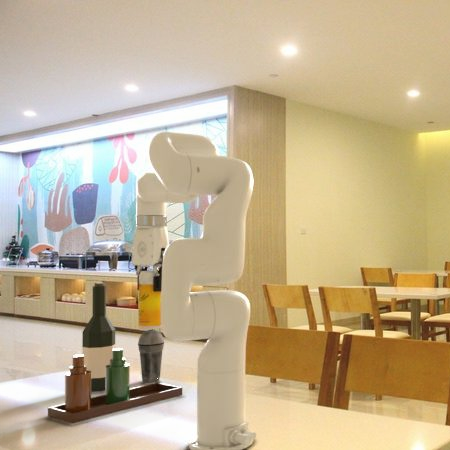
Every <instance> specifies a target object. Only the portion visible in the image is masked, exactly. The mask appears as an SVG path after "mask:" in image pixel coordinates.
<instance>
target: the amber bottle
mask: <svg viewBox="0 0 450 450" xmlns="http://www.w3.org/2000/svg"><path fill="white" fill-rule="evenodd" d="M91 398H92V392H91V371H89V370H87V365H84V355H82V354H75V355H73V356H72V365H71V366H69V371H68V372H66V373H64V404H65V411H67V412H71V413H76V412H80V411H84V410H89V409H91Z"/></svg>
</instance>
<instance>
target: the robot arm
mask: <svg viewBox="0 0 450 450" xmlns="http://www.w3.org/2000/svg"><path fill="white" fill-rule="evenodd" d="M219 153H220V152H219V147H218V146H217V144H216V143H215V141H213V140H212V139H210V138H209V137H206V136H204V135H199V134H191V133H181V132H171V131H162V132H159V133H156V134H155V136H153V137H152V139H151V140H150V143H149V146H148V149H147V158H148V162H149V165H150V167H151V169H152V171H153V172H145V173H143V174H142V175H141V176H139V177H137V179H136V184H135V185H136V186H135V187H136V188H135V190H136V193H135V194H136V196H135V199H136V200H135V212H136V213H135V229H134V233H133V238H132V247H131V248H132V251H131V263H132V265H133V267H134V270H135V275H136V276H137V278H136V279H137V284H136V285H137V286H136V287H137V291H139V275H140V273H141V271H150V267H151V266H152V267H153V271H154V272H155V276H153V291H154V292H158V291H161V332H162V335H163V336H164V337H165V338H166V339H167V340H169V341H172V342H188V341H189V342H190V341H198V340H206V342H205V343H204V346H203V347H202V349H201V350H200V352H199V354H198V358H197V367H196V369H197V370H196V371H197V372H196V373H197V374H196V378H197V381H196V384H197V385H196V387H197V388H196V392H197V393H196V435H195V436H193V437H192V438H191V439H190V440H189V442H188V448H189V450H245V449H246V448H249V447H250V446H251V445H252V444H253V442H254V440H255V439H256V438H257V432H255V431H251V430H249V422H246V361H247V359H246V356H247V355H246V354H247V351H246V350H247V338H248V330H249V325H250V322H251V321H250V319H251V303H250V300H249V298H248V297H247V296H246V295H245V294H243V293H242V292H240V291H237V290H232V289H218V290H216V289H215V290H204V291H191V290H192V288H193V287H195V286H213V285H226V284H232V283H236V282H238V281H239V280H241V278H242V276H243V274H244V269H245V257H246V229H247V228H246V226H247V225H246V220H247V214H248V209H249V207H250V203H251V200H252V196H253V191H254V176H253V171H252V168H251V167H250V165H249V164H248V163H247V162H246V161H244V160H242V159H239V158H236V157H231V156H225V155H220V154H219ZM200 196H216V197H214V198H213V199H212V201H211V202H210V203H209V204H208V206H207V207H206V209H205V210H204V213H203V215H202V233H201V236H200V237H181V238H177V239H174V240H172V241H170V243H169V234H168V225H167V223H168V215H167V214H168V203H169V204H188V203H192V202H194V201H196V200H197V199H198V198H199V197H200Z"/></svg>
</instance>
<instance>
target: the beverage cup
mask: <svg viewBox="0 0 450 450" xmlns="http://www.w3.org/2000/svg"><path fill="white" fill-rule="evenodd" d="M137 346H138V347H137V348H138V351H139V358H140V359H139V360H140V372H141V381H142V383H143V384H153V383H157V382H159V383H160V378H161V371H162V361H163V360H162V359H163V350H164V346H165V339H164V335H163V334H162V333H161V332H160V331H158V330H156V329H146V330H145V331H143V332H142V333H141V335H140V336H139V338H138V342H137ZM157 378H158V379H157Z"/></svg>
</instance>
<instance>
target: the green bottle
mask: <svg viewBox="0 0 450 450" xmlns="http://www.w3.org/2000/svg"><path fill="white" fill-rule="evenodd" d="M130 367H131V366H130V363H127V362H126V358H125V357H124V349H123V348H119V347H118V348H115V349H113V350H112V359H110V365H107V366H106V367H105V390H104V395H105V405H109V404H113V403H117V402H121V401H125V400H129V389H130V373H131V372H130Z"/></svg>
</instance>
